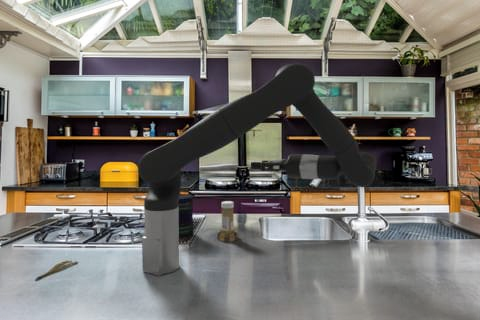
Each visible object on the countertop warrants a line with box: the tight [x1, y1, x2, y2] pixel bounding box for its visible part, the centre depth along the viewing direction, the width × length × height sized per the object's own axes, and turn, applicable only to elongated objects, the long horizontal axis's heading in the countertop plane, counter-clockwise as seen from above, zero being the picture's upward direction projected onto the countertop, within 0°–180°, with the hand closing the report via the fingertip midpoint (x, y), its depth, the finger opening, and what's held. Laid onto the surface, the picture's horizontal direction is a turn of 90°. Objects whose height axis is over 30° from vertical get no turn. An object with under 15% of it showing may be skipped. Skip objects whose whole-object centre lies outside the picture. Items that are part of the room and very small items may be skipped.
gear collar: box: [216, 228, 238, 242], centre depth 112 cm, size 7×7×2 cm
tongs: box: [34, 260, 79, 282], centre depth 84 cm, size 4×13×2 cm, turn 171°
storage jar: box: [178, 193, 195, 240], centre depth 115 cm, size 10×10×15 cm
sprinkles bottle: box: [221, 200, 235, 236], centre depth 112 cm, size 5×5×14 cm
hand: (256, 164), depth 101 cm, fingers open, 8 cm apart
